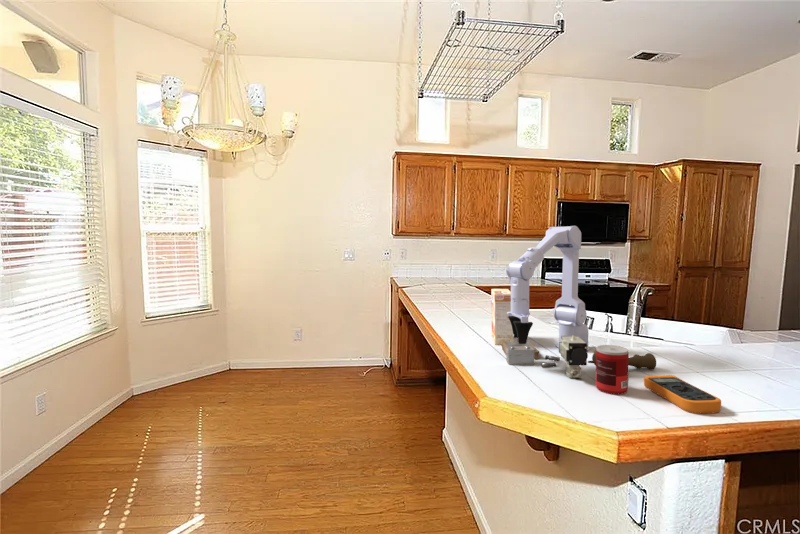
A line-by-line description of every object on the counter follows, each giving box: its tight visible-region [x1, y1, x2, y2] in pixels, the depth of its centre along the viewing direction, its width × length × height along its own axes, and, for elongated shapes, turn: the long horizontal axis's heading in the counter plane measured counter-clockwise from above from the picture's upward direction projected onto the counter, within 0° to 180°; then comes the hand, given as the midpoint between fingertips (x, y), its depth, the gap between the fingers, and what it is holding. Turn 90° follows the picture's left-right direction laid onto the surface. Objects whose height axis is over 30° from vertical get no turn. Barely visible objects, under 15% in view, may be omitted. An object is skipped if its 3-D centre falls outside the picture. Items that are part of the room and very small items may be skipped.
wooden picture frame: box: [501, 341, 540, 360], centre depth 144 cm, size 10×12×3 cm
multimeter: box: [643, 374, 722, 415], centre depth 103 cm, size 9×18×3 cm, turn 1°
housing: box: [505, 346, 535, 366], centre depth 134 cm, size 8×4×5 cm, turn 85°
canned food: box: [595, 344, 630, 395], centre depth 109 cm, size 8×8×11 cm
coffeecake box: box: [490, 288, 514, 346], centre depth 162 cm, size 15×7×20 cm, turn 172°
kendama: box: [587, 350, 657, 371], centre depth 125 cm, size 6×10×20 cm
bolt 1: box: [544, 354, 561, 362], centre depth 136 cm, size 4×1×1 cm, turn 51°
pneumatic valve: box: [558, 335, 589, 379], centre depth 120 cm, size 6×12×12 cm, turn 173°
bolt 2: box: [540, 361, 557, 369], centre depth 130 cm, size 4×1×1 cm, turn 106°
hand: (519, 340), depth 134 cm, fingers open, 7 cm apart
